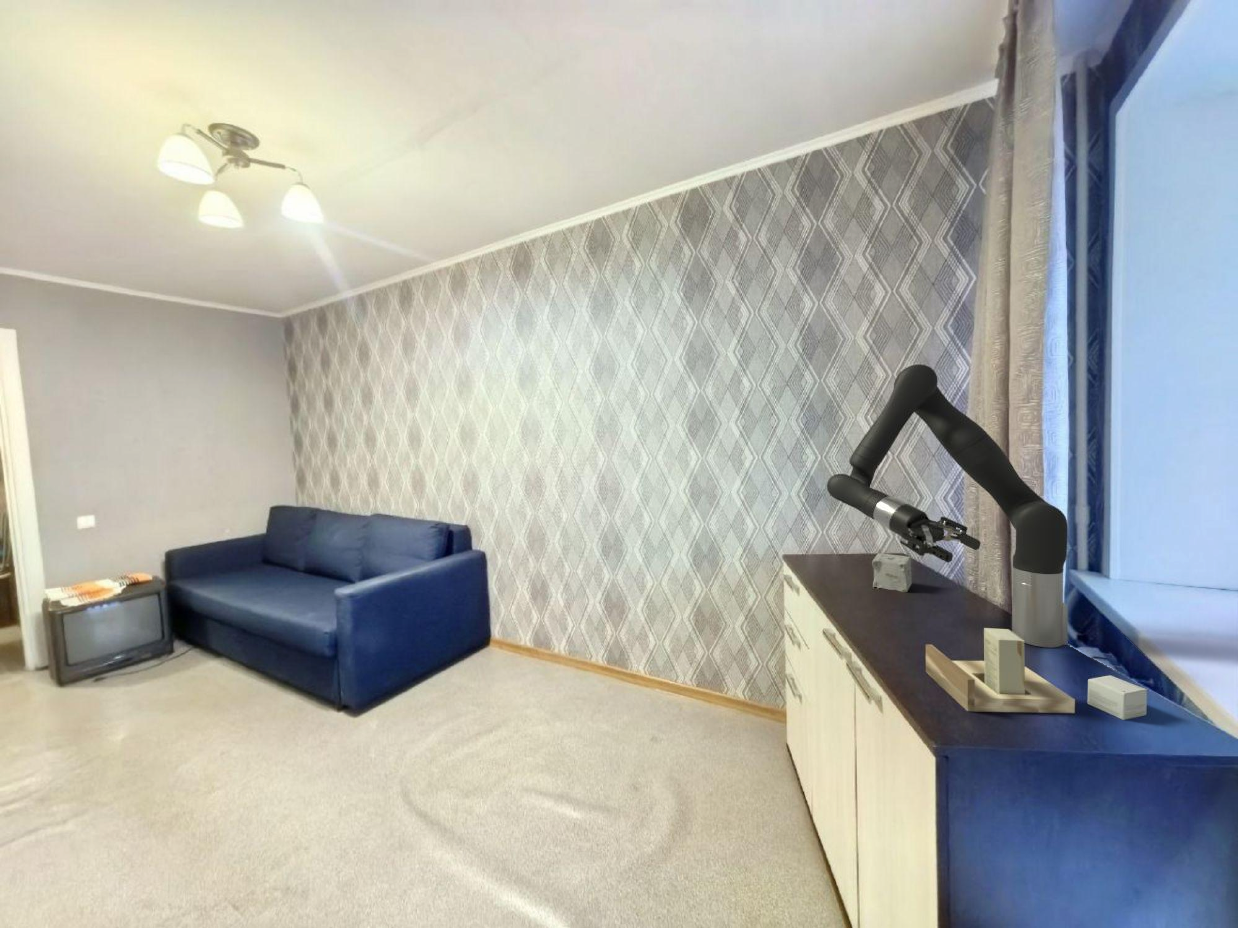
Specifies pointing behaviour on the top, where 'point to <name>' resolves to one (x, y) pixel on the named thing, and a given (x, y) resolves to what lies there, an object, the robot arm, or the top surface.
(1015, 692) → the skincare box
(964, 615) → the top surface
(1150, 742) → the top surface
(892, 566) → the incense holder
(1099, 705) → the small box
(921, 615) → the top surface
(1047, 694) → the rack
